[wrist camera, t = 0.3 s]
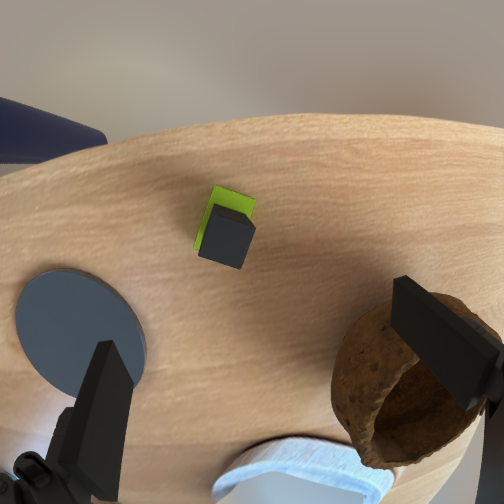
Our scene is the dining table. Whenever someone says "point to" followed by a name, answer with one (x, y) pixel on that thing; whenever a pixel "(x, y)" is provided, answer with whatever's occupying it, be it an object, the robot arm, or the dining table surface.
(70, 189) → the dining table surface
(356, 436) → the bowl
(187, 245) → the dining table surface
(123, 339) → the plate
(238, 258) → the two-tone block stack
